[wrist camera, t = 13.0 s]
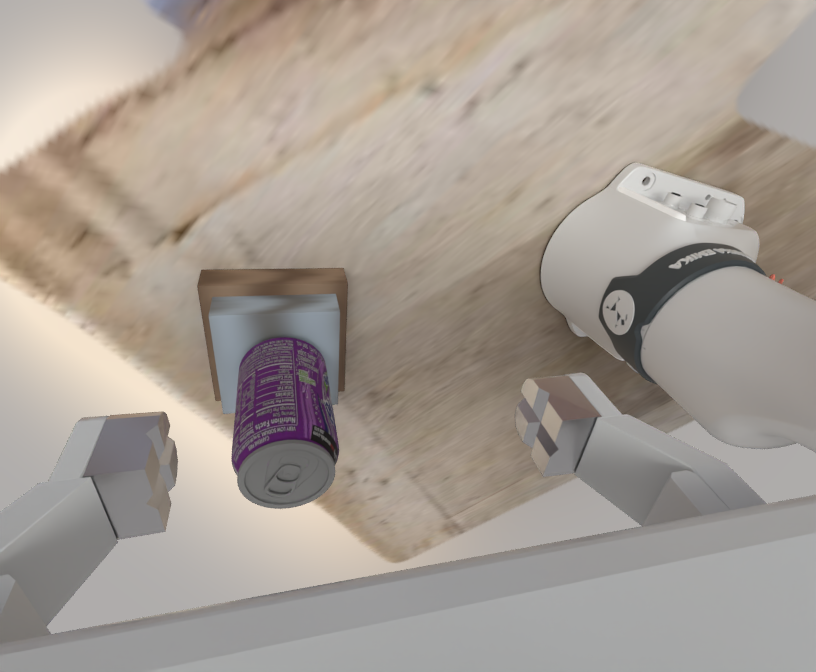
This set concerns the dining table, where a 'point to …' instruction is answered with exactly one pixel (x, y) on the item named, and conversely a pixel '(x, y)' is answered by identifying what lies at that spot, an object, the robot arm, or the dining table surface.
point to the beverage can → (284, 425)
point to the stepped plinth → (272, 286)
